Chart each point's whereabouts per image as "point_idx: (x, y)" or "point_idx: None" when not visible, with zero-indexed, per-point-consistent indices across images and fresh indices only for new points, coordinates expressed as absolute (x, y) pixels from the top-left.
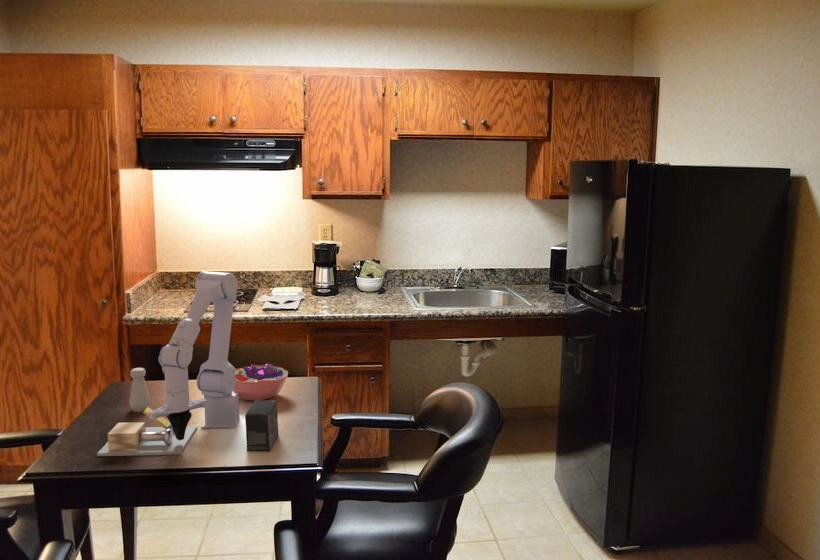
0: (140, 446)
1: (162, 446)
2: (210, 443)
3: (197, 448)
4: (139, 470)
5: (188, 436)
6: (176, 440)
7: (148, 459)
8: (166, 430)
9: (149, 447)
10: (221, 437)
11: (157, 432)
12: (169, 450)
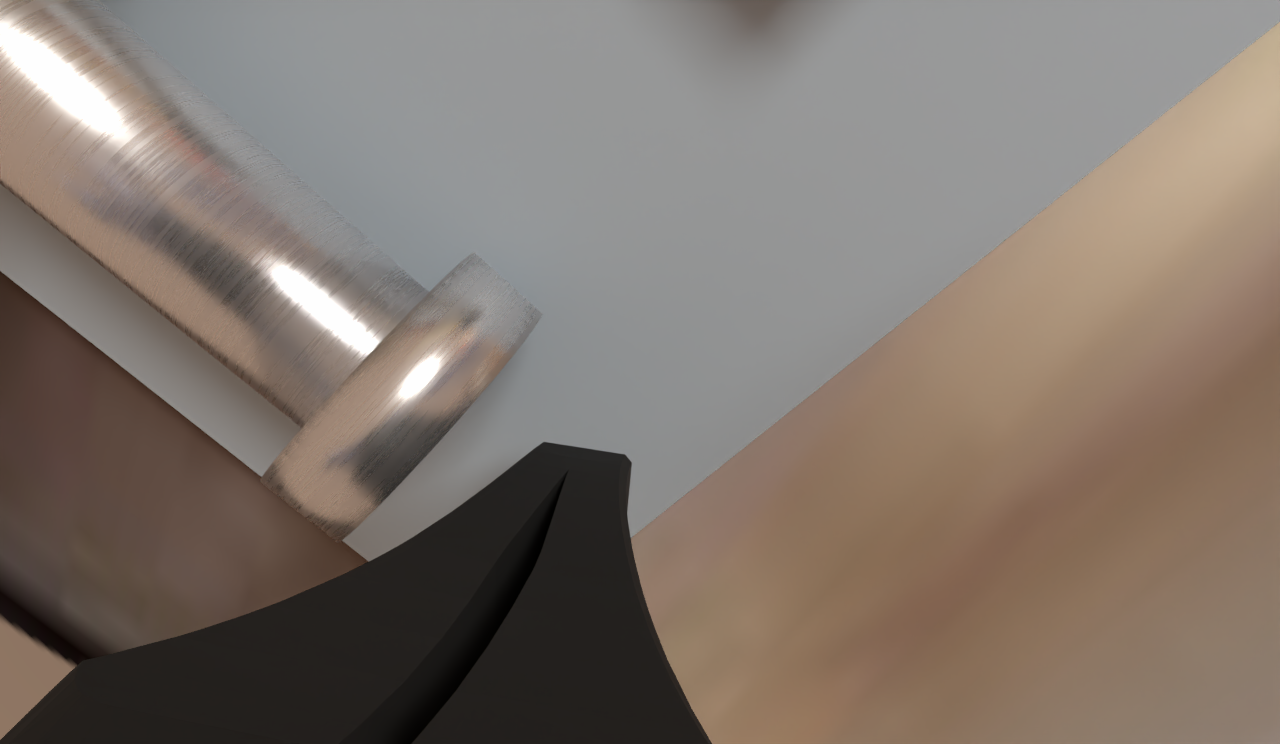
0: None
1: None
2: (976, 641)
3: (748, 635)
4: (12, 607)
5: (870, 300)
6: (620, 299)
7: (136, 456)
8: (297, 481)
9: None
10: (1256, 603)
11: (174, 288)
12: (383, 530)
